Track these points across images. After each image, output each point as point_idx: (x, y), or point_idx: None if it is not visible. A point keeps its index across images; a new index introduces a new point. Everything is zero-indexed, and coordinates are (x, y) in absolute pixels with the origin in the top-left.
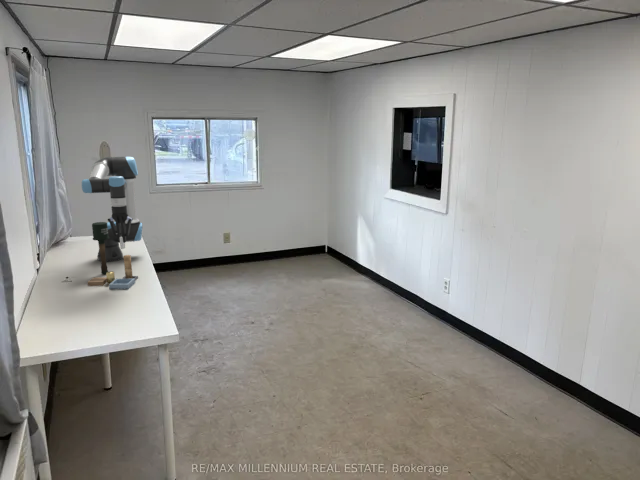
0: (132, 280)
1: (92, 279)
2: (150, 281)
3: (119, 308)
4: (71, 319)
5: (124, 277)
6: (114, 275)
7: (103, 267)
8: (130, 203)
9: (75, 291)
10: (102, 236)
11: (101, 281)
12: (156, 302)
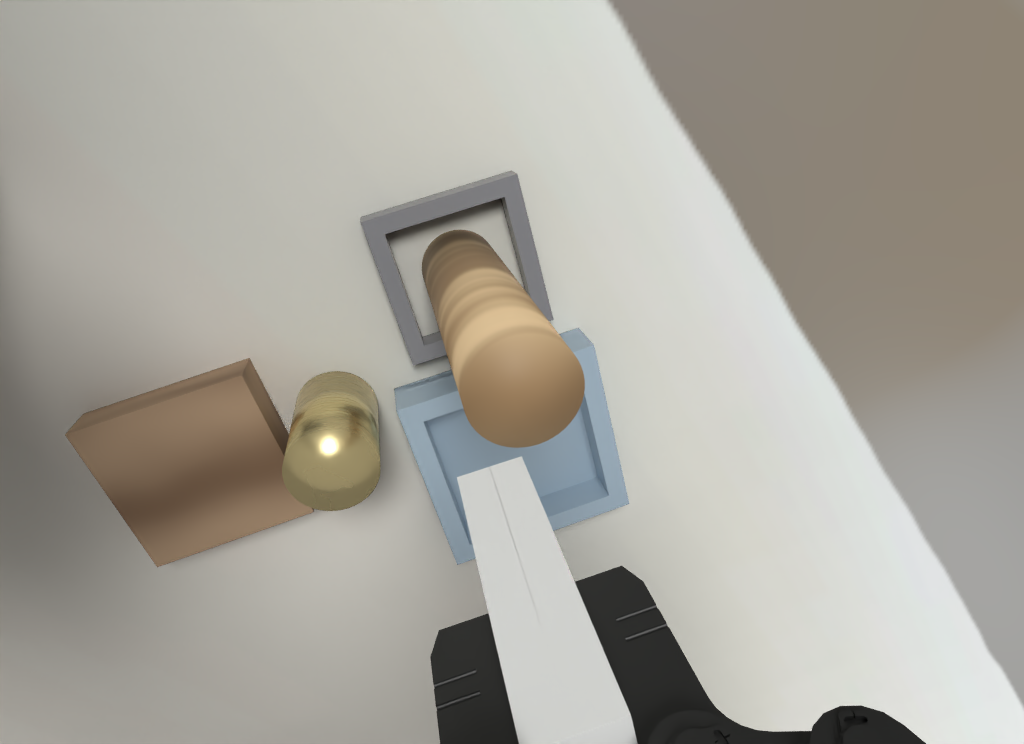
0: (604, 402)
1: (127, 492)
2: (703, 238)
3: None
4: None
5: (395, 274)
6: (367, 420)
7: None
8: None
9: (207, 670)
10: None
11: (292, 508)
12: (918, 595)
